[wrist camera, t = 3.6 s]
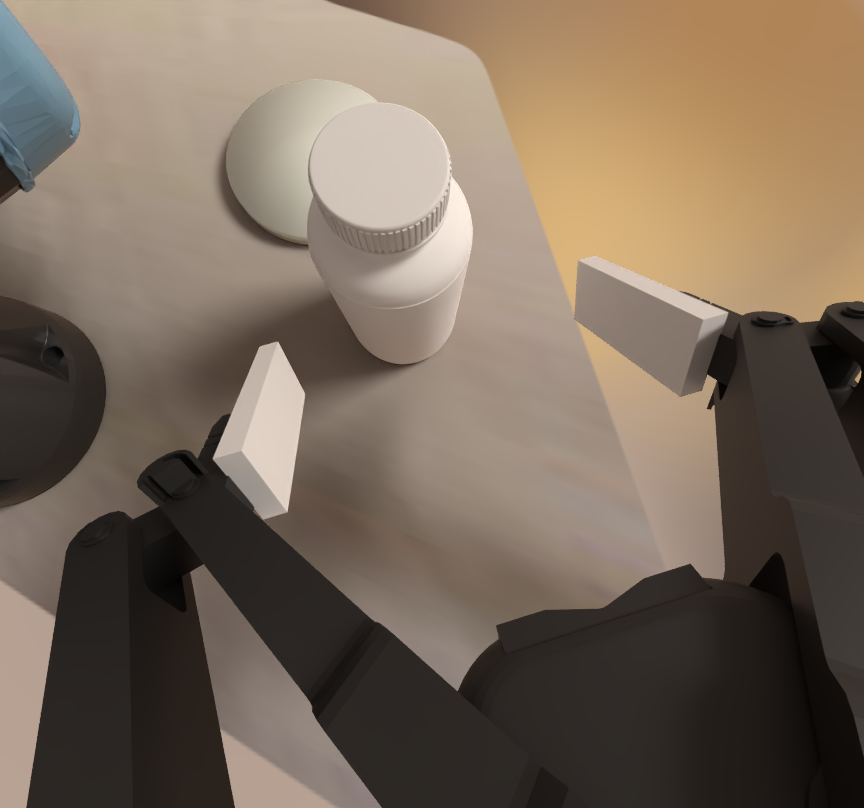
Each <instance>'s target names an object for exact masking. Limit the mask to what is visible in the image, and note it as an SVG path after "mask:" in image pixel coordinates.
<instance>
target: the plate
mask: <svg viewBox="0 0 864 808" xmlns="http://www.w3.org/2000/svg"><path fill="white" fill-rule="evenodd" d="M367 103H379V102H378V101H377V100H376V99H374V98H373V97H372V96H370V95H369V94H367V93H366V92H364V91H362V90H360V89H358V88H356V87H354V86H351V85H349V84H346V83H342V82H338V81H333V80H325V79H310V80H301V81H297V82H292V83H289V84H286V85H283V86H280V87H278V88H276V89H274V90H271V91H269V92H268V93H266V94H265V95H263V96H262V97H260V98H259V99H258V100H256V101H255V102H254V103H253V104H252V105H251V106H250V107H249V108H248V109H247V110H246V111H245V112H244V113H243V114H242V116H241V117H240V118H239V120H238V121H237V123H236V125H235V127H234V129H233V131H232V133H231V136H230V138H229V142H228V146H227V152H226V170H227V175H228V180H229V183H230V185H231V188H232V190H233V192H234V194H235V196H236V198H237V199H238V201H239V202H240V203H241V205H242V206H243V207H244V209H245V210H246V211H247V213H248V214H249V215H250V217H251V218H252V219H253V220H254V221H255V222H256V223H257V224H258V225H259V226H261V227H262V228H263V229H265V230H266V231H267V232H269V233H271V234H273V235H274V236H276V237H278V238H281V239H283V240H286V241H289V242H293V243H297V244H303V245H308V239H307V219H308V212H309V208H310V204H311V201H312V198H313V193H312V190H311V188H310V183H309V177H308V172H309V171H308V165H309V164H308V160H309V155H310V152H311V149H312V146H313V144H314V141H315V139H316V138H317V136H318V134H319V133H320V131H321V130H322V129H323V127H324V126H325V125H326V124H327V123H328V122H329V121H330V120H331V119H333V118H334V117H335V116H337V115H338V114H340V113H341V112H343V111H345V110H347V109H350V108H352V107H355V106H358V105H362V104H367Z"/></svg>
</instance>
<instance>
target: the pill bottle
mask: <svg viewBox="0 0 864 808" xmlns="http://www.w3.org/2000/svg"><path fill="white" fill-rule="evenodd" d="M308 164H309V165H308V171H309V172H308V177H309V183H310V188H311V190H312V193H313V198H312V201H311V204H310V208H309V212H308V219H307V239H308V246H309V250H310V254H311V257H312V260H313V262H314V264H315V266H316V268H317V270H318V272H319V274H320V276H321V277H322V279H323V281H324V283H325V284H326V286H327V288H328V289H329V291H330V293H331V294H332V296H333V298H334V300H335V301H336V303H337V305H338V306H339V308H340V310H341V311H342V313H343V315H344V317H345V318H346V320H347V322H348V323H349V325H350V327H351V329H352V330H353V332H354V334H355V335H356V337H357V339H358V340H359V342H360V343H361V344H362V345H363V346H364V347H365V348H366V349H367V350H368V351H369V352H370V353H371V354H373V355H374V356H376V357H378V358H379V359H382V360H384V361H387V362H390V363H395V364H411V363H416V362H419V361H422V360H425V359H427V358H429V357H430V356H432V355H433V354H435V353H436V352H437V351H438V350H439V349H440V348H441V347H442V346H443V345H444V344H445V342H446V341H447V339H448V337H449V336H450V334H451V331H452V329H453V326H454V322H455V318H456V313H457V309H458V304H459V300H460V296H461V291H462V287H463V283H464V278H465V274H466V270H467V265H468V261H469V257H470V252H471V247H472V238H473V227H472V219H471V215H470V211H469V207H468V204H467V202H466V199H465V197H464V195H463V193H462V191H461V189H460V187H459V186H458V184H457V183H456V182H455V180H454V179H453V178H452V177H451V171H452V167H451V160H450V154H449V153H448V148H447V147H446V143H445V141H443V138H442V136H441V135H440V134H439V132H438V131H437V129H436V128H435V127H434V126H433V125H432V124H431V123H430V122H429V121H428V120H427V119H426V118H424V117H423V116H422V115H420V114H418V113H417V112H415V111H413V110H411V109H409V108H406V107H403V106H400V105H396V104H391V103H367V104H362V105H358V106H355V107H352V108H350V109H347V110H345V111H343V112H341V113H340V114H338V115H337V116H335V117H334V118H333V119H331V120H330V121H329V122H328V123H327V124H326V125H325V126H324V127H323V129H322V130H321V131H320V133H319V134H318V136H317V138H316V139H315V141H314V144H313V146H312V149H311V152H310V155H309V160H308Z"/></svg>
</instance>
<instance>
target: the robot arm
mask: <svg viewBox="0 0 864 808" xmlns="http://www.w3.org/2000/svg"><path fill="white" fill-rule="evenodd" d="M79 131H80V117H79V111H78V108H77V105H76V103H75V101H74V98H73V96H72V94H71V92H70V91H69V89H68V87H67V86H66V84H65V83H64V81H63V79H62V78H61V77H60V75H59V74H58V72H57V71H56V70H55V68H54V67H53V66H52V64H51V63H50V61H49V60H48V59H47V57H46V56H45V55H44V53H43V52H42V51H41V50H40V48H39V47H38V46H37V45H36V43H35V42H34V41H33V39H32V38H31V37H30V35H29V34H28V33H27V32H26V30H25V29H24V28H23V26H22V25H21V24H20V23H19V21H18V20H17V19H16V18H15V16H14V15H13V14H12V12H11V11H10V10H9V9H8V7H7V6H6V5H5V4H4V2H3V1H2V0H0V204H1V203H3V202H4V201H5V200H7V199H8V198H9V197H10V196H12V195H13V194H14V193H16V192H17V191H18V190H20V189H22V190H23V191H25V192H29V191H30V190H32V189H33V187H34V186H35V182H34V178H35V177H36V176H37V175H39V174H40V173H41V172H42V171H43V170H44V169H45V168H47V167H48V166H49V165H50V164H51V163H52V162H53V161H54V160H56V159H57V158H58V157H59V156H60V155H61V154H62V153H64V152H65V151H66V150H67V149H68V148H69V147H70V146H71V145H72V144H73V143H74V142H75V141H76V139H77V137H78V135H79ZM574 319H575V320H576V321H578V322H579V323H580V324H582V325H583V326H584V327H586V328H587V329H588V330H590V331H591V332H593V333H594V334H595V335H597V336H598V337H600V338H601V339H602V340H603V341H605V342H606V343H608V344H609V345H610V346H612V347H613V348H614V349H616V350H617V351H618V352H620V353H621V354H622V355H624V356H625V357H627V358H628V359H629V360H631V361H632V362H633V363H635V364H636V365H638V366H639V367H640V368H642V369H643V370H644V371H646V372H647V373H648V374H650V375H651V376H653V377H654V378H655V379H656V380H658V381H659V382H661V383H662V384H663V385H665V386H666V387H668V388H669V389H670V390H672V391H673V392H675V393H676V394H677V395H678V396H680V397H682V396H685V395H688V394H692V393H695V392H698V391H702V389H703V386H704V383H705V380H706V377H707V374H708V375H709V376H711V377H713V378H714V379H716V380H717V383H716V386H715V388H714V391H713V394H712V396H711V399H710V402H709V404H708V407H707V409H711V408H712V406H713V405H715V419H716V436H717V451H718V466H719V480H720V496H721V511H722V526H723V541H724V556H725V573H724V578H723V580H719V579H711V578H702V577H701V576H700V575H699V573H698V572H697V571H696V570H695V569H694V567H693V566H692V565H691V564H688V565H685V566H682V567H679V568H676V569H672V570H669V571H666V572H663V573H660V574H657V575H653V576H650V577H647V578H644V579H643V580H641V581H640V582H639V583H637V584H636V585H634V586H633V587H632V588H630V589H629V590H628V591H626V592H625V593H624V594H622V595H621V596H620V597H618V598H617V599H616V600H614V601H613V602H611V603H610V604H609V605H607V606H606V607H604V608H600V609H570V610H543V611H540V612H537V613H534V614H531V615H528V616H524V617H521V618H518V619H515V620H512V621H509V622H506V623H502V624H499V625H496V627H497V632H498V637H499V639H498V640H497V641H496V642H494V643H493V644H492V645H490V646H489V647H488V648H487V649H486V650H485V651H484V652H483V653H482V654H481V655H480V656H479V657H478V658H477V659H476V661H475V662H474V663H473V664H472V666H471V667H470V669H469V670H468V672H467V674H466V675H465V677H464V679H463V681H462V683H461V685H460V688H459V690H458V692H457V691H456V690H455V689H454V688H453V687H452V686H451V685H450V684H448V683H447V682H446V681H445V680H444V679H443V678H442V677H441V676H440V675H438V674H437V673H436V672H435V671H434V670H433V669H432V668H431V667H429V666H428V665H427V664H426V663H425V662H424V661H423V660H422V659H421V658H419V657H418V656H417V655H416V654H415V653H414V652H413V651H412V650H410V649H409V648H408V647H407V646H406V645H405V644H404V643H403V642H401V641H400V640H399V639H398V638H397V637H396V636H395V635H394V634H392V633H391V632H390V631H389V630H388V629H387V628H385V627H384V626H383V625H381V624H380V623H378V622H374V621H373V620H372V619H371V618H369V617H368V616H367V615H366V614H365V613H364V612H363V611H362V610H361V609H359V608H358V607H357V606H356V605H355V604H354V603H353V602H352V601H351V600H349V599H348V598H347V597H346V596H345V595H344V594H343V593H342V592H341V591H340V590H338V589H337V588H336V587H335V586H334V585H333V584H332V583H331V582H330V581H328V580H327V579H326V578H325V577H324V576H323V575H322V574H321V573H320V572H319V571H317V570H316V569H315V568H314V567H313V566H312V565H311V564H310V563H309V562H308V561H306V560H305V559H304V558H303V557H302V556H301V555H300V554H299V553H298V552H296V551H295V550H294V549H293V548H292V547H291V546H290V545H289V544H288V543H287V542H285V541H284V540H283V539H282V538H281V537H280V536H279V535H278V534H277V533H275V532H274V531H273V530H272V529H271V528H270V527H269V526H268V525H267V524H266V523H264V522H263V521H262V520H261V519H260V518H259V517H258V516H257V515H256V514H255V513H253V510H254V509H255V510H256V511H257V513H258V514H259V515H260V516H261V517H262V519H266V518H270V517H273V516H277V515H280V514H283V513H287V512H288V505H289V499H290V492H291V486H292V479H293V472H294V466H295V459H296V452H297V446H298V439H299V433H300V426H301V419H302V413H303V406H304V399H305V393H304V391H303V389H302V387H301V385H300V383H299V381H298V379H297V377H296V375H295V373H294V371H293V370H292V368H291V366H290V364H289V362H288V360H287V358H286V356H285V354H284V352H283V350H282V348H281V346H280V344H279V343H278V342H274V343H270V344H267V345H263V346H260V347H259V349H258V352H257V354H256V356H255V359H254V361H253V364H252V366H251V368H250V371H249V373H248V376H247V378H246V380H245V383H244V385H243V388H242V390H241V392H240V395H239V397H238V399H237V402H236V404H235V407H234V409H233V411H232V413H231V414H227V415H224V416H222V417H221V418H220V419H219V420H218V422H217V423H216V424H215V425H214V426H213V427H212V429H211V431H210V433H209V436H208V439H207V440H206V442H205V444H204V448H202V451H201V453H200V455H199V457H198V459H197V458H196V457H195V456H194V455H193V453H192V452H190V451H188V450H178V451H174V452H172V453H169V454H166V455H165V456H163V457H161V458H159V459H157V460H156V461H154V462H153V463H152V464H151V465H149V466H148V467H147V468H146V469H145V470H144V471H143V472H142V473H141V475H140V477H139V479H138V481H137V484H138V488H139V489H140V490H142V491H143V492H144V493H145V494H146V495H147V496H148V497H149V498H150V499H152V500H153V501H154V502H155V503H156V504H157V505H158V506H159V507H157V508H155V509H153V510H151V511H149V512H147V513H145V514H143V515H141V516H139V517H137V518H135V519H132V518H130V517H129V516H128V515H127V514H126V513H124V512H120V511H117V512H111V513H108V514H106V515H104V516H101V517H99V518H97V519H96V520H94V521H93V522H91V523H89V524H87V525H86V526H85V527H84V528H83V529H81V530H80V531H79V532H78V533H77V535H76V536H75V537H74V538H73V540H72V541H71V542H70V544H69V546H68V548H67V551H66V556H65V562H64V569H63V575H62V581H61V588H60V594H59V601H58V607H57V614H56V620H55V627H54V633H53V640H52V646H51V652H50V659H49V666H48V672H47V678H46V685H45V691H44V698H43V704H42V711H41V718H40V723H39V730H38V736H37V743H36V749H35V756H34V762H33V769H32V775H31V781H30V788H29V795H28V801H27V807H26V808H235V806H234V801H233V795H232V790H231V785H230V780H229V774H228V769H227V764H226V758H225V754H224V748H223V743H222V737H221V732H220V727H219V722H218V716H217V711H216V706H215V701H214V695H213V690H212V685H211V679H210V674H209V669H208V664H207V658H206V653H205V648H204V643H203V637H202V632H201V627H200V622H199V616H198V611H197V606H196V601H195V595H194V590H193V585H192V580H191V574H190V572H191V571H192V570H194V569H196V568H197V567H199V566H201V565H203V564H204V565H205V566H206V567H207V569H208V570H209V571H210V572H211V574H212V575H213V576H214V578H215V579H216V580H217V582H218V583H219V584H220V585H221V587H222V588H223V589H224V591H225V592H226V593H227V594H228V596H229V597H230V598H231V600H232V601H233V602H234V604H235V605H236V606H237V607H238V609H239V610H240V611H241V613H242V614H243V615H244V617H245V618H246V619H247V620H248V622H249V623H250V624H251V626H252V627H253V628H254V629H255V631H256V632H257V633H258V635H259V636H260V637H261V639H262V640H263V641H264V642H265V644H266V645H267V646H268V648H269V649H270V650H271V651H272V653H273V654H274V655H275V657H276V658H277V659H278V661H279V662H280V663H281V664H282V666H283V667H284V668H285V670H286V671H287V672H288V674H289V675H290V676H291V677H292V679H293V680H294V681H295V683H296V684H297V685H298V686H299V688H300V689H301V690H302V692H303V693H304V694H305V696H306V697H307V698H308V700H309V701H310V703H311V705H312V712H313V714H314V716H315V718H316V720H317V721H318V723H319V724H320V725H321V727H322V728H323V730H324V731H325V733H326V734H327V735H328V737H329V738H330V739H331V741H332V742H333V743H334V745H335V746H336V747H337V748H338V750H339V751H340V752H341V754H342V755H343V756H344V758H345V759H346V760H347V762H348V763H349V764H350V766H351V767H352V768H353V770H354V771H355V772H356V774H357V775H358V776H359V778H360V779H361V780H362V782H363V783H364V784H365V786H366V787H367V788H368V790H369V791H370V792H371V794H372V795H373V796H374V798H375V799H376V800H377V802H378V803H379V804H380V806H381V807H382V808H864V303H863V302H859V301H855V302H842V303H835V304H832V305H830V306H827V308H826V309H825V312H824V313H823V315H822V317H821V319H820V321H814V322H804V323H799V322H798V321H797V320H796V319H795V318H793V317H791V316H789V315H785V314H781V313H777V312H767V311H766V312H765V311H762V312H751V313H747V314H745V315H743V316H742V315H740V314H737V313H735V312H733V311H730V310H728V309H725V308H723V307H721V306H718V305H716V304H713V303H712V304H710V302H709V301H706V300H704V299H701V300H700V298H699V297H697V296H694V295H692V294H689V293H686V292H681V291H677V290H674V289H672V288H670V287H667V286H665V285H662V284H660V283H658V282H655V281H653V280H651V279H648V278H646V277H643V276H641V275H639V274H636V273H634V272H632V271H629V270H627V269H625V268H622V267H620V266H618V265H615V264H613V263H611V262H608V261H606V260H604V259H601V258H599V257H596V256H592V257H588V258H584V259H581V260H578V267H577V284H576V301H575V318H574ZM860 370H861V371H862V373H861V378H860V381H859V383H857V382H856V381H855V378H856V377H857V375H858V374H859V372H860ZM105 399H106V384H105V376H104V371H103V367H102V363H101V361H100V358H99V356H98V354H97V351H96V350H95V348H94V346H93V344H92V343H91V342H90V340H89V339H88V338H87V336H86V335H85V334H84V333H83V332H82V331H81V330H80V329H79V328H78V327H76V326H75V325H74V324H73V323H71V322H70V321H68V320H67V319H65V318H63V317H61V316H59V315H57V314H55V313H52V312H50V311H47V310H44V309H42V308H39V307H36V306H33V305H31V304H28V303H25V302H23V301H19V300H16V299H11V298H7V297H2V296H0V507H4V506H9V505H13V504H16V503H20V502H23V501H25V500H28V499H30V498H33V497H35V496H37V495H39V494H41V493H42V492H44V491H46V490H47V489H49V488H51V487H52V486H53V485H55V484H56V483H58V482H59V481H60V480H61V479H62V478H64V477H65V476H66V475H67V474H68V473H69V472H70V471H71V470H72V469H73V468H74V467H75V466H76V465H77V464H78V462H79V461H80V460H81V459H82V457H83V456H84V455H85V453H86V452H87V450H88V449H89V447H90V445H91V444H92V442H93V440H94V438H95V436H96V433H97V431H98V429H99V426H100V423H101V420H102V416H103V412H104V407H105Z"/></svg>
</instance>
